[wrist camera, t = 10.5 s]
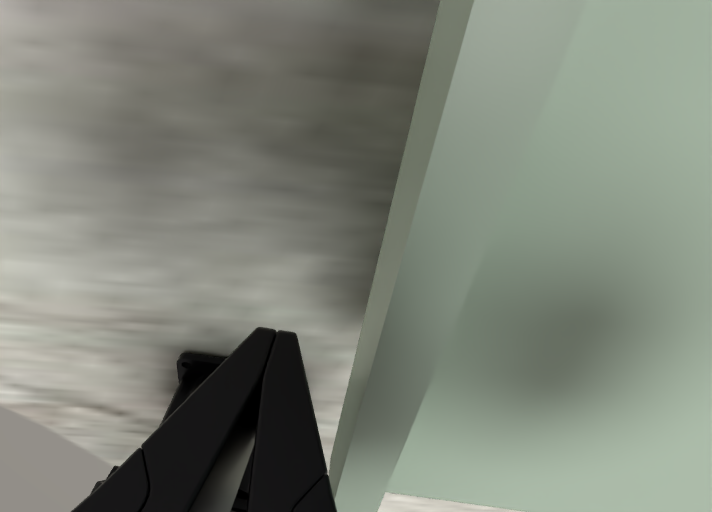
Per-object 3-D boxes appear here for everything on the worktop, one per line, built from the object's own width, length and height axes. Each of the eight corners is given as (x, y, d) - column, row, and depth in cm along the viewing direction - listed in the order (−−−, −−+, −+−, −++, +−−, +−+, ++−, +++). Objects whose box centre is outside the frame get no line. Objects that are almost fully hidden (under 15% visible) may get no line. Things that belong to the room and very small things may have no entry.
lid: (331, 456, 16) (320, 549, 14) (467, -112, 7) (512, -139, 4) (724, 512, 17) (781, 610, 14) (1351, 72, 7) (1826, 141, 5)
